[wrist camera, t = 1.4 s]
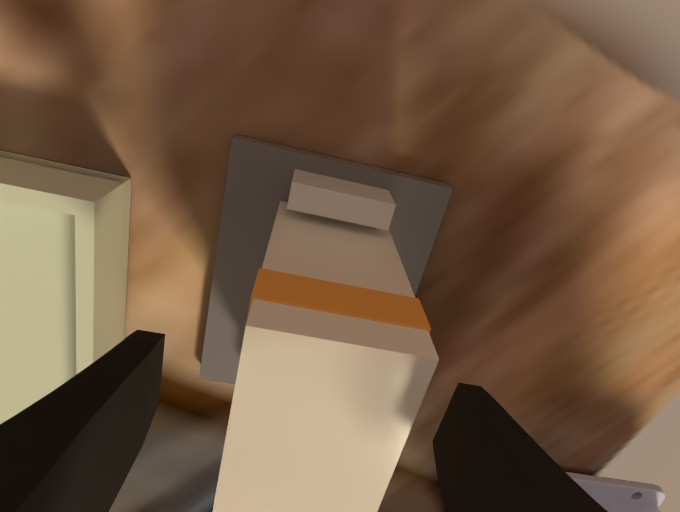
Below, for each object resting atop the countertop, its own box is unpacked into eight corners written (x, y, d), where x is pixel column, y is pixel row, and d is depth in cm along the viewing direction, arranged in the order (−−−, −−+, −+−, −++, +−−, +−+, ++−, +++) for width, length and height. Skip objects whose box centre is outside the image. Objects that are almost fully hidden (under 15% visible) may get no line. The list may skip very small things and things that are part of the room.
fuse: (388, 222, 14) (442, 357, 8) (344, 369, 17) (358, 562, 10) (279, 198, 14) (243, 322, 7) (249, 353, 16) (203, 546, 10)
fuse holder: (448, 183, 14) (467, 203, 12) (374, 395, 18) (380, 435, 16) (235, 133, 13) (220, 147, 12) (203, 368, 17) (187, 407, 15)
